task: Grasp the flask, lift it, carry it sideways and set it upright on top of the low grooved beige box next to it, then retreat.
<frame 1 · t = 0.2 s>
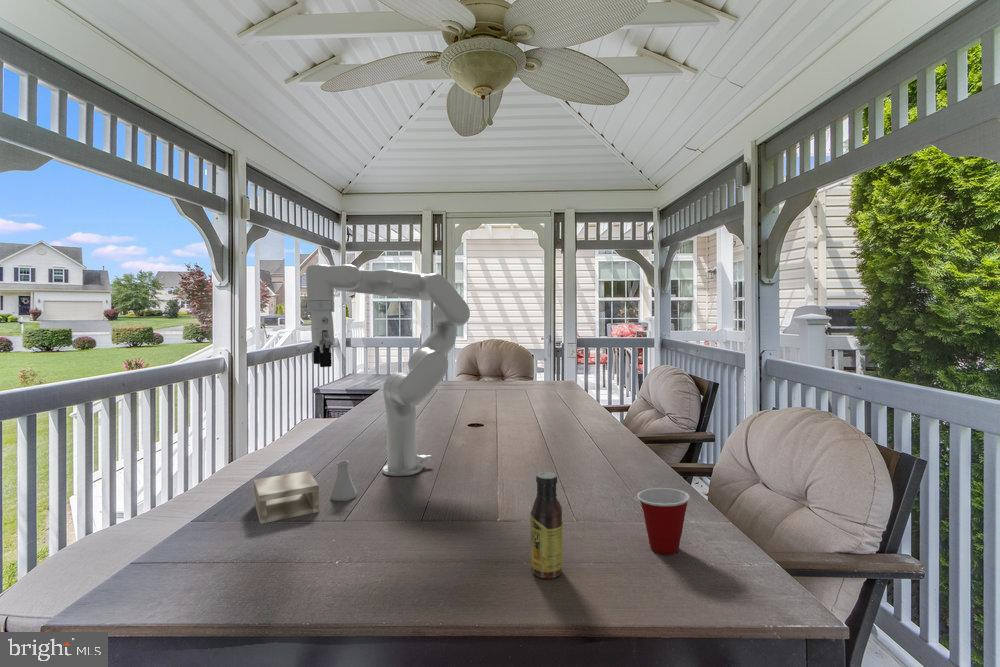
hand: (322, 365, 153), 36 cm above the table, tool pointing down, fingers open, 9 cm apart
grooved beige box: (286, 508, 137), on the table
plastic cup: (663, 549, 112), on the table
flask: (344, 498, 145), on the table
sauce bottle: (546, 573, 102), on the table
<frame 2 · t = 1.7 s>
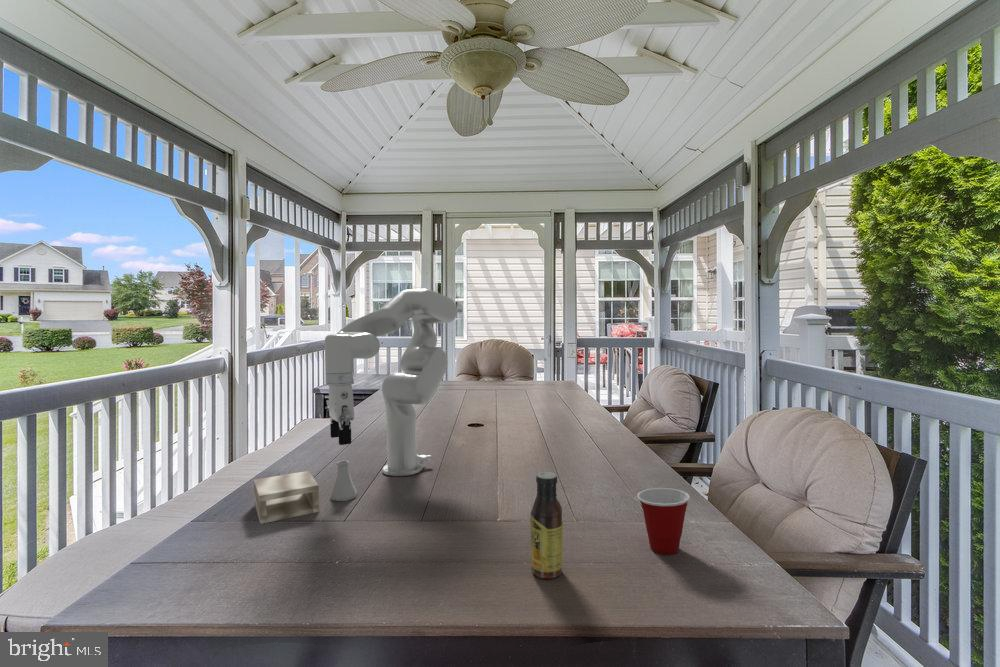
hand: (340, 440, 143), 16 cm above the table, tool pointing down, fingers open, 9 cm apart
nothing on the table moved.
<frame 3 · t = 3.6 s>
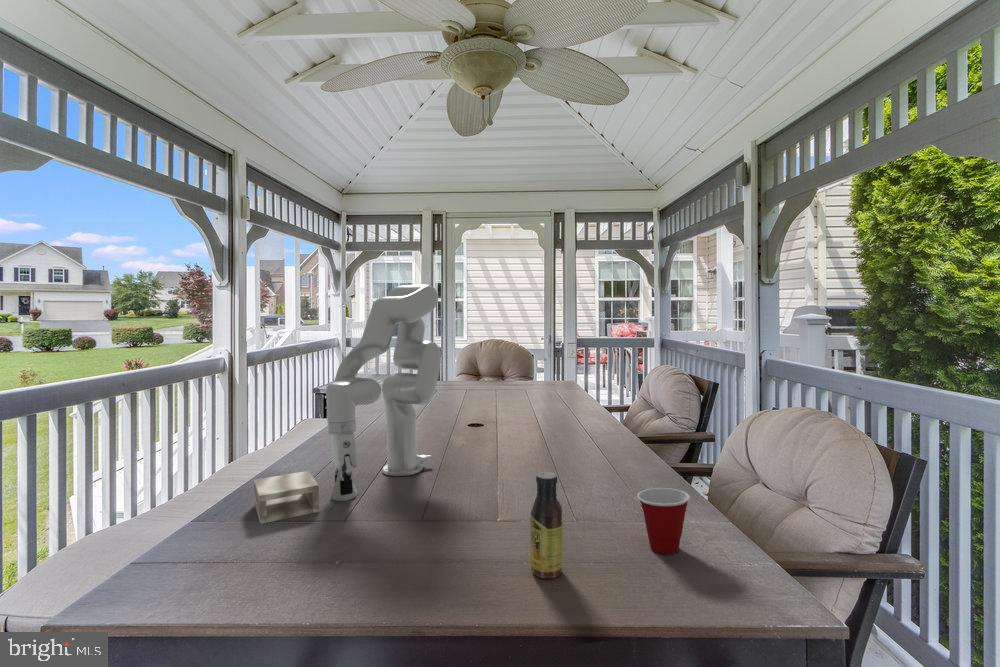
hand: (343, 490, 145), 2 cm above the table, tool pointing down, fingers closed on flask, 5 cm apart
flask: (344, 497, 145), on the table, touching gripper
everything else where it was.
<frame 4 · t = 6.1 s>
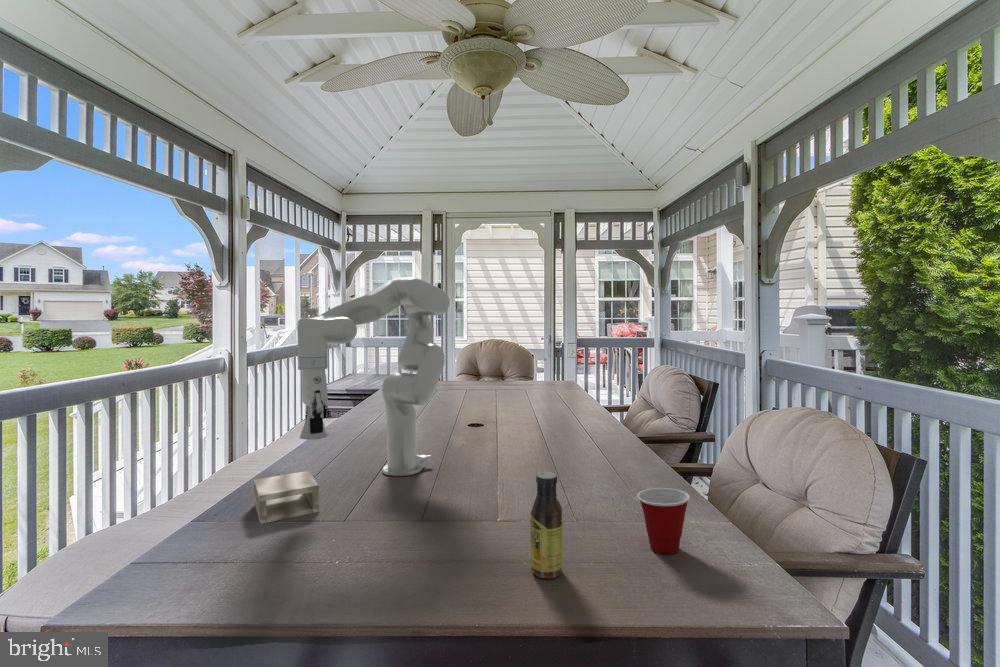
hand: (314, 430, 140), 20 cm above the table, tool pointing down, fingers closed on flask, 5 cm apart
flask: (314, 438, 140), point 18 cm above the table, touching gripper
everything else where it was.
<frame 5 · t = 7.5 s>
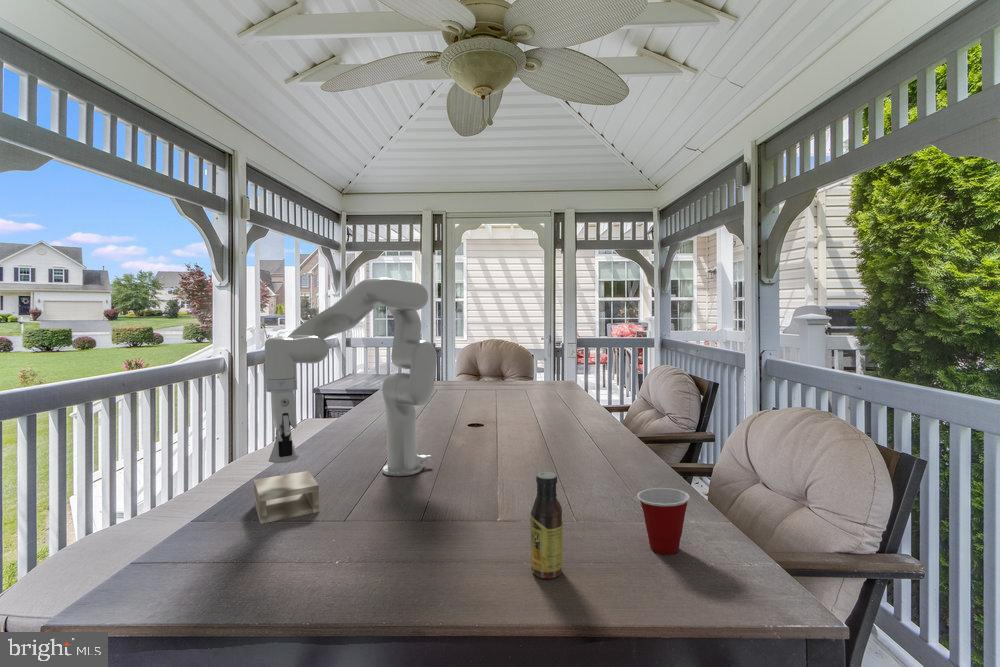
hand: (283, 452, 136), 15 cm above the table, tool pointing down, fingers closed on flask, 5 cm apart
flask: (284, 460, 136), point 13 cm above the table, touching gripper
everything else where it was.
when the fingers open (10 cm above the table, at t = 8.7 s): flask drops 1 cm, resting on grooved beige box.
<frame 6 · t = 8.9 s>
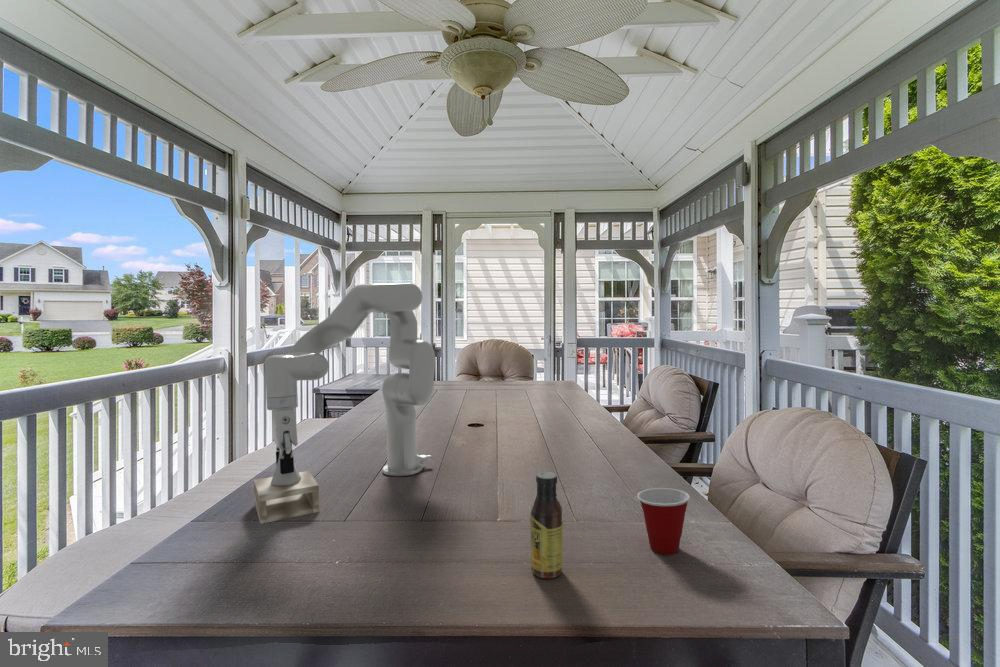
hand: (285, 468, 137), 11 cm above the table, tool pointing down, fingers open, 7 cm apart
flask: (286, 483, 137), point 7 cm above the table, touching grooved beige box
everything else where it was.
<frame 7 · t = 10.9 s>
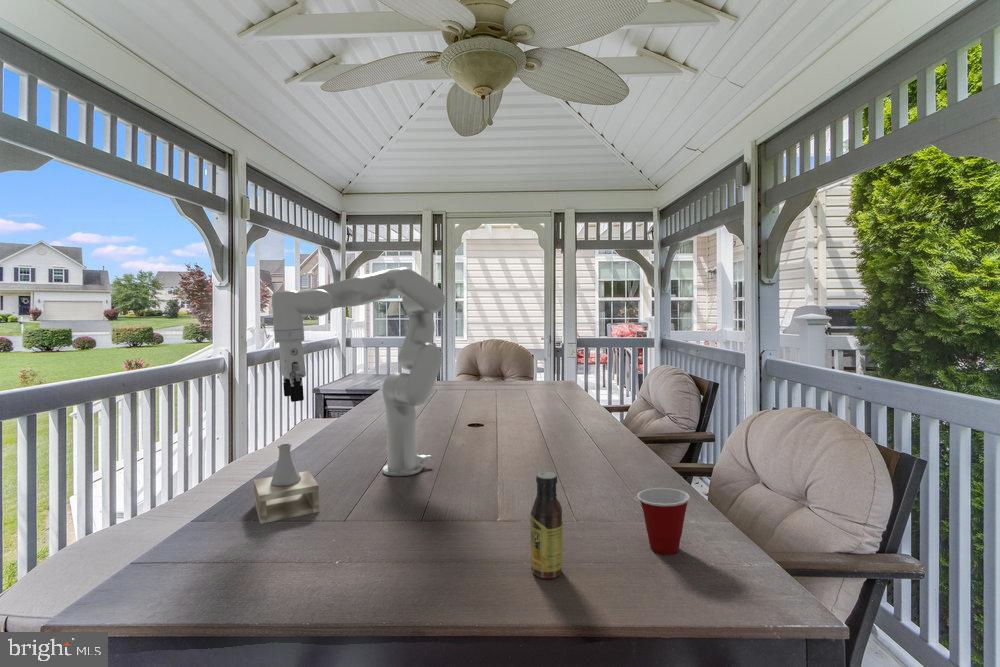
hand: (293, 398, 142), 28 cm above the table, tool pointing down, fingers open, 9 cm apart
nothing on the table moved.
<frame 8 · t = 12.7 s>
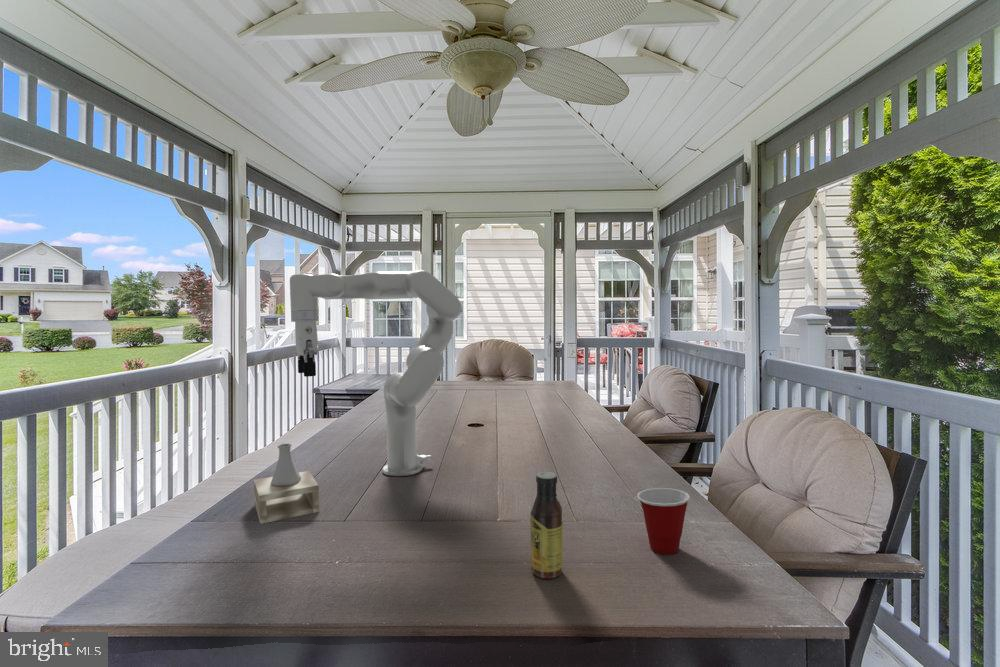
hand: (306, 374, 153), 33 cm above the table, tool pointing down, fingers open, 9 cm apart
nothing on the table moved.
at the end: flask inside the target area on the grooved beige box (0.2 cm from its centre), point 6.8 cm above the grooved beige box's base; flask tilted 0°; the gripper is holding nothing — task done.
